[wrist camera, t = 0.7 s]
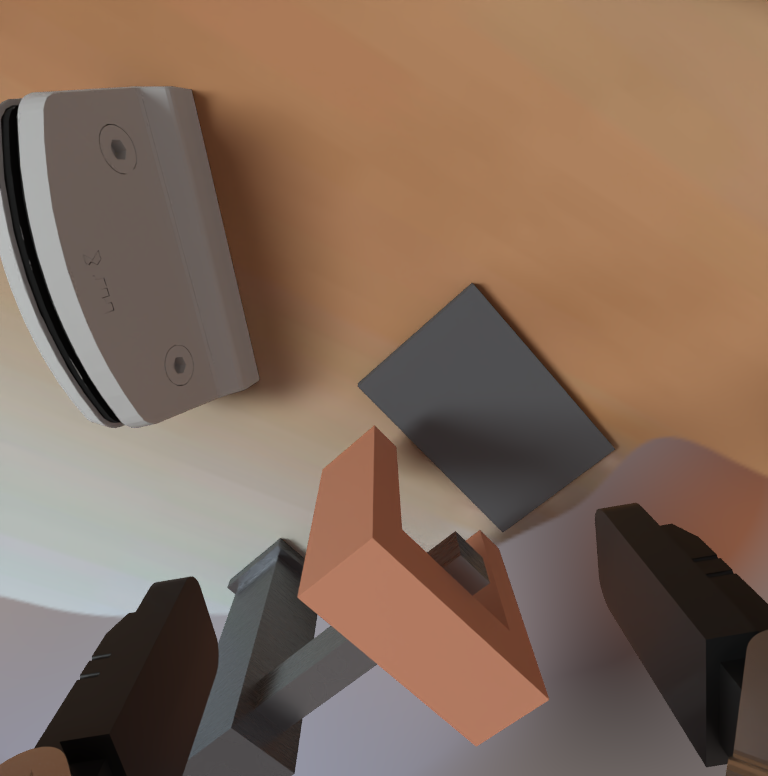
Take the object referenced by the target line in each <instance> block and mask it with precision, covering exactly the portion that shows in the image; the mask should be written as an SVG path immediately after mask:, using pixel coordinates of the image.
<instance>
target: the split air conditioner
mask: <svg viewBox="0 0 768 776" xmlns="http://www.w3.org/2000/svg"><path fill="white" fill-rule="evenodd" d="M0 256H1V259H2V263H3V266H4V270H5V272H6V275H7V278H8V281H9V284H10V287H11V290H12V293H13V295H14V298H15V300H16V302H17V305H18V307H19V310H20V312H21V315H22V317H23V319H24V321H25V323H26V326H27V328H28V330H29V332H30V334H31V336H32V338H33V340H34V342H35V344H36V346H37V347H38V349H39V351H40V353H41V355H42V357H43V358H44V360H45V362H46V363H47V365H48V367H49V368H50V370H51V372H52V373H53V375H54V376H55V378H56V380H57V381H58V383H59V384H60V385H61V387H62V388H63V389H64V391H65V392H66V394H67V395H68V396H69V398H70V399H71V400H72V402H73V403H74V404H75V405H76V407H77V408H78V409H79V410H80V411H81V412H82V414H83V415H84V416H85V417H86V418H87V419H88V420H89V421H91V422H94V423H97V424H101V425H104V426H107V427H111V428H117V427H121V426H124V425H126V426H129V427H131V428H139V427H143V426H148V425H152V424H156V423H159V422H162V421H164V420H166V419H169V418H171V417H174V416H176V415H178V414H181V413H183V412H186V411H188V410H191V409H193V408H195V407H198V406H200V405H203V404H205V403H207V402H210V401H212V400H215V399H217V398H220V397H223V396H226V395H229V394H233V393H236V392H239V391H242V390H245V389H247V388H248V387H250V386H251V385H253V384H254V383H256V382H257V381H259V380H260V379H259V375H258V371H257V366H256V362H255V358H254V354H253V349H252V345H251V341H250V337H249V332H248V328H247V324H246V319H245V315H244V311H243V307H242V302H241V298H240V294H239V290H238V285H237V281H236V277H235V273H234V268H233V264H232V260H231V256H230V251H229V247H228V243H227V238H226V234H225V230H224V226H223V221H222V217H221V213H220V209H219V204H218V200H217V196H216V192H215V187H214V183H213V179H212V175H211V170H210V166H209V162H208V157H207V153H206V149H205V145H204V140H203V136H202V132H201V128H200V123H199V119H198V115H197V111H196V106H195V102H194V98H193V94H192V90H191V89H185V88H179V87H173V86H156V87H118V88H101V89H85V90H68V91H51V92H34V93H30V94H28V95H26V96H24V98H20V99H8V100H6V101H4V102H2V103H1V104H0Z"/></svg>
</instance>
